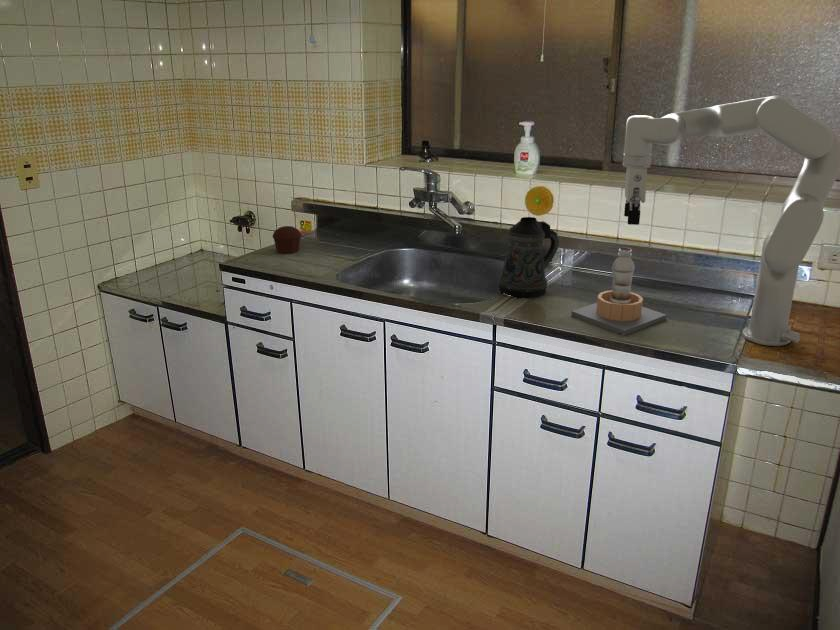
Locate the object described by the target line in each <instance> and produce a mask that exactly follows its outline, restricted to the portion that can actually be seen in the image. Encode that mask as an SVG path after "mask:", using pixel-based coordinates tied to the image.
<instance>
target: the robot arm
mask: <svg viewBox="0 0 840 630" xmlns="http://www.w3.org/2000/svg"><path fill="white" fill-rule="evenodd" d="M760 132H763V133H765V134H767V136H769V137H770V138H772V139H773V140H775V141H776V142H777V143H779V144H781V145H782V146H784V147H786V148H787V149H789V150H790V151H792V152H793V153H794V154H795V155H798V156H799V157H800V158H803V159H804V160H803V165H802V167H801V170H800V171H799V174H798V176H797V179H796V180H795V182H794V185H793V186H792V188H791V191H790V193H789V194H788V196H787V197H786V199H785V201H784V203H783V204H782V207H781V214H780V217H779V219H778V220H777V223H776V225H775V226H774V229H773V230H772V231H770V232H769V233H768V234H767V235H766V236H765V238H764V239H763V240H764V241H763V242H762V243H763V244H762V248H761V254H760V262H759V269H758V273H757V280H756V284H755V292H754V297H753V303H752V308H751V315H750V320H749V326H746V327H744V328H743V329H742V334H741V335H742V337H744V339H746V340H747V341H750V342H752V343H754V344H757V345H764V346H770V347H771V346H772V347H778V346H780V347H782V346H785V345H788V344H789V343H791V342H793V343H795V344H796V343H797V344H798V343H799V342H800V339H801V336H800V335H801V334H800V333H798V332H795V331H793V330H792V329H791V328H792V325H790V324H789V319H790V314H791V309H792V304H793V303H792V302H793V298H794V292H795V288H796V285H797V277H798V272H799V266H800V265H801V263H802V262H803V261H804V258H806V255H807V254H808V252H809V250H810V248H811V246H812V244H813V242H814V240H815V238H816V236H817V235H818V232H819V231H820V229H821V227H822V224H823V221H824V215H825V213H824V205H825V203H826V201H827V199H828V197H829V195H830V194H831V191H832V189H833V186H834V184H835V182H836V181H837V178H838V176H839V174H840V139H839V137H838V135H837V134H836V132H835V131H834V130H833V128H832V127H831V126H830V125H829V124H827V123H826V122H825V121H823V120H819V119H814V118H813V117H810V116H809V115H807V114H805V113H804V112H803V111H801V110H799V108H797V107H795V106H794V105H793V104H792V103H791V102H790V101H789V99H788V98H786V97H784V96H781V95H768V96H764V97H759V98H754V99H746V100H741V101H737V102H729V103H724V104H718V105H713V106H709V107H703V108H697V109H696V108H695V109H690V110H684V111H678V112H673V113H669V114H666V115H664V116H662V117H653V116H651V115H641V114H639V115H636V114H635V115H631V116H629V117H628V118H627V119H626V125H625V135H624V138H625V139H624V146H623V148H624V149H623V160H622V167H624V168H626V172H625V185H624V197H625V202H624V211H623V213H624V214H623V216H624V217H627V225H630V226H631V225H633V226H636V225H637V226H638V225H640V219H641V203H642V204H644V203H645V202H646V196H647V195H646V193H647V192H646V191H647V179H648V178H647V177H648V176H647V174H648V168H650V167H651V162H652V152H653V144H656V145H661V146H670V145H673V144H675V143H677V142H678V141H679V140H685V139H691V138H697V137H705V136H706V137H709V136H710V137H712V136H713V137H717V138H728V137H735V136H736V137H737V136H740V135H746V134H747V135H748V134H754V133H760Z"/></svg>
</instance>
